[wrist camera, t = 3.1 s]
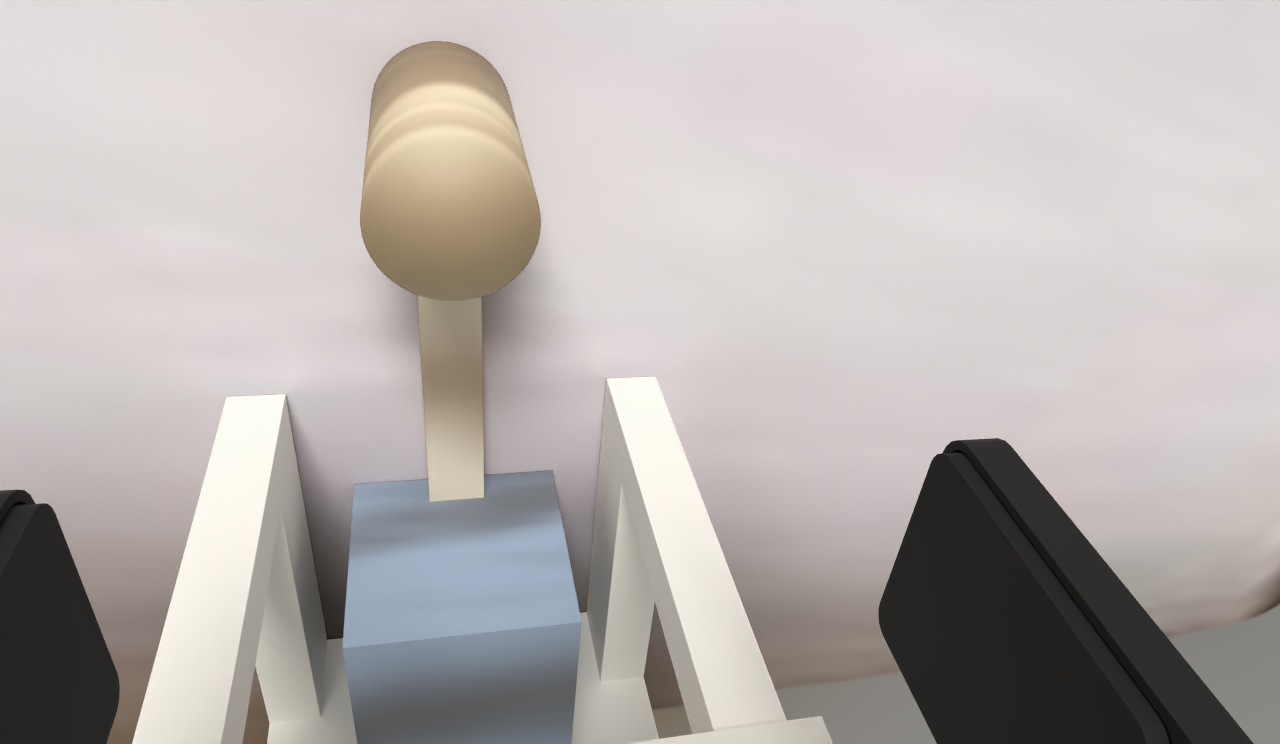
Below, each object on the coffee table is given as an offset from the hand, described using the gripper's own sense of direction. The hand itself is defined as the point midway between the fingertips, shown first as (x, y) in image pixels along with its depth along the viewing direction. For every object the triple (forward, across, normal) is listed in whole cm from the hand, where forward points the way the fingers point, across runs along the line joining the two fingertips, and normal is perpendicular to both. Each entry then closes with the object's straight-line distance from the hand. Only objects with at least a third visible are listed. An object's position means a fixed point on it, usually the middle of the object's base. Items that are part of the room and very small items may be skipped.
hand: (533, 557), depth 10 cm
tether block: (+14, +1, +8) cm, 16 cm away
